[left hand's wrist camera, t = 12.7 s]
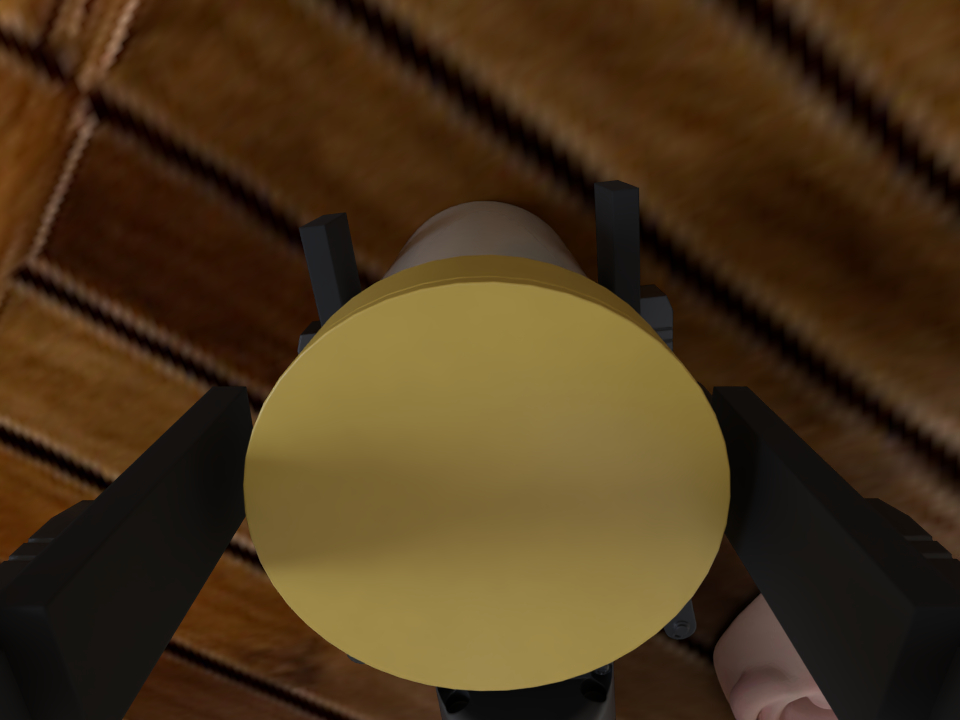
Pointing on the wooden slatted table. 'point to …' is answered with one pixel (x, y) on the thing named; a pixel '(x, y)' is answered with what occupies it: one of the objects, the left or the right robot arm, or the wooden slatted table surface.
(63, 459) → the wooden slatted table surface
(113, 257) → the wooden slatted table surface
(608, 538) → the lid
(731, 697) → the anatomical model
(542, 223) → the jar
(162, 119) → the wooden slatted table surface
